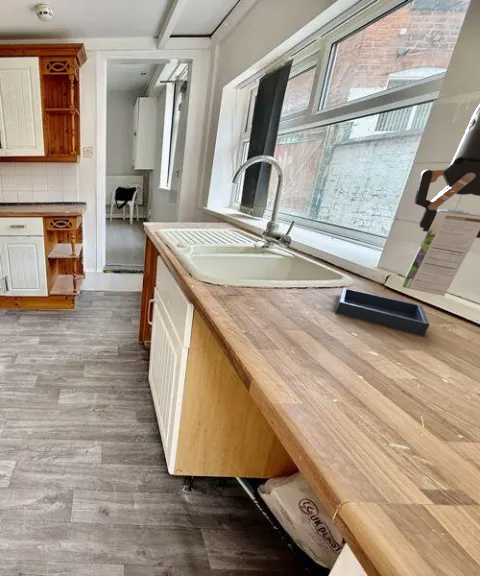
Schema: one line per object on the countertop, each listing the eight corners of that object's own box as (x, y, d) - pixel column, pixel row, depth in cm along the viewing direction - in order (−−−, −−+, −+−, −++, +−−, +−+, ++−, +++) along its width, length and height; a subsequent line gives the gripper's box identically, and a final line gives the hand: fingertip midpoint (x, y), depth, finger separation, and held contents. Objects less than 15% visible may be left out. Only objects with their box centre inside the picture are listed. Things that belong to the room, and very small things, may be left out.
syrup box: (402, 280, 62) (436, 208, 57) (444, 289, 58) (484, 212, 53) (401, 287, 58) (436, 210, 53) (446, 297, 55) (489, 215, 49)
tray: (416, 315, 76) (421, 305, 75) (423, 336, 66) (429, 324, 65) (339, 297, 85) (343, 287, 84) (335, 312, 75) (339, 301, 74)
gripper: (567, 130, 46) (505, 238, 53) (434, 131, 55) (395, 225, 61) (593, 123, 41) (521, 245, 47) (441, 126, 49) (397, 229, 56)
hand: (450, 233), depth 54 cm, fingers closed on syrup box, 6 cm apart
